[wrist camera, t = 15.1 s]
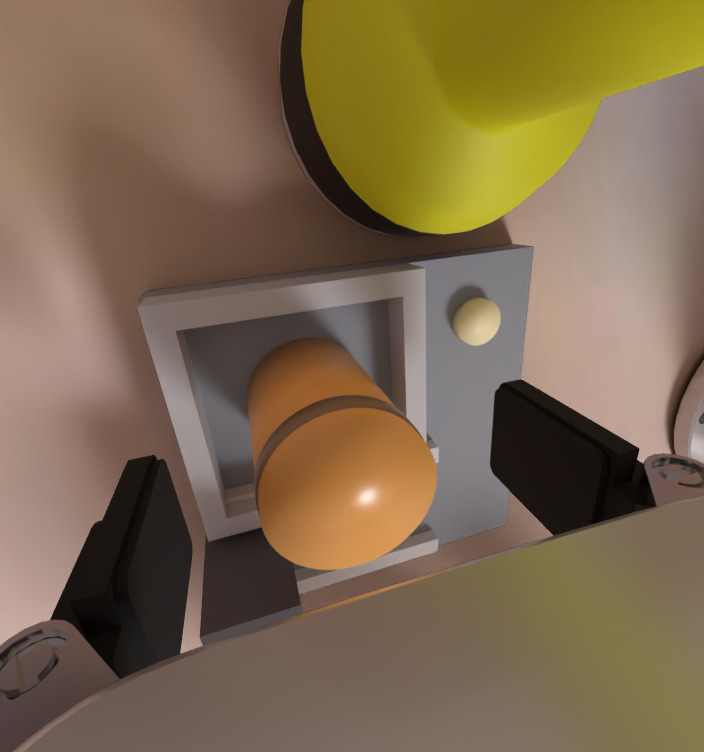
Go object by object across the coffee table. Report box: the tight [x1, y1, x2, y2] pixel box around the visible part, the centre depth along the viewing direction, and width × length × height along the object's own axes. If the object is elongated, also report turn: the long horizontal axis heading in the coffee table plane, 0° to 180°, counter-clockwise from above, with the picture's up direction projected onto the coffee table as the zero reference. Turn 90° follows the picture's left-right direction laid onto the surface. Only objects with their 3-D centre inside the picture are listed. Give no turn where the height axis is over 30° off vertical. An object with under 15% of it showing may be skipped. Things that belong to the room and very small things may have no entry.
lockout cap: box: [247, 338, 437, 570], centre depth 12 cm, size 4×4×6 cm
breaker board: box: [137, 244, 534, 594], centre depth 16 cm, size 14×14×3 cm
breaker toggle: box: [200, 527, 303, 646], centre depth 15 cm, size 3×3×5 cm
